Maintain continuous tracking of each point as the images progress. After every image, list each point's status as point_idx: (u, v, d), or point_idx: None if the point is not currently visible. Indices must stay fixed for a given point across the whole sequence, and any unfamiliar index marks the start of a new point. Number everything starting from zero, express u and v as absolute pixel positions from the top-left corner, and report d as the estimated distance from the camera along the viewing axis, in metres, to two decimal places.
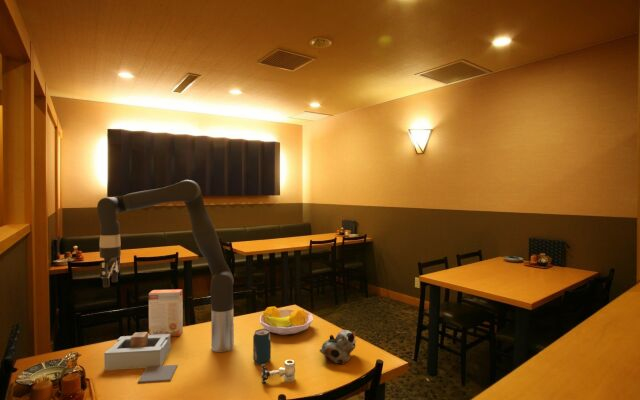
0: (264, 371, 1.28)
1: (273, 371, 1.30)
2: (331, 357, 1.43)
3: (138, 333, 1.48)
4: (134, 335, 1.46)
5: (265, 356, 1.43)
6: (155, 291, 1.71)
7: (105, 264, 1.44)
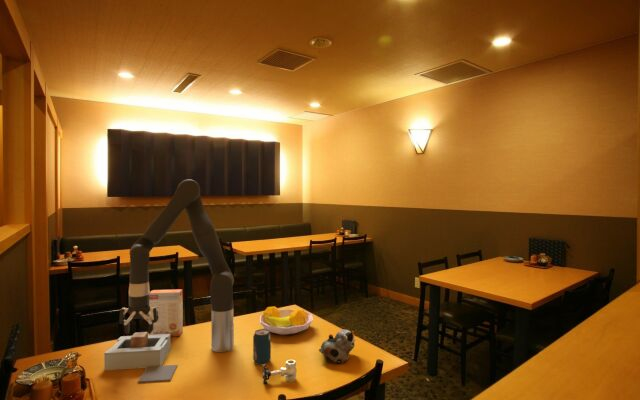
0: (265, 371, 1.28)
1: (274, 371, 1.30)
2: (331, 356, 1.43)
3: (138, 333, 1.48)
4: (134, 335, 1.46)
5: (265, 356, 1.43)
6: (155, 291, 1.71)
7: (157, 308, 1.49)
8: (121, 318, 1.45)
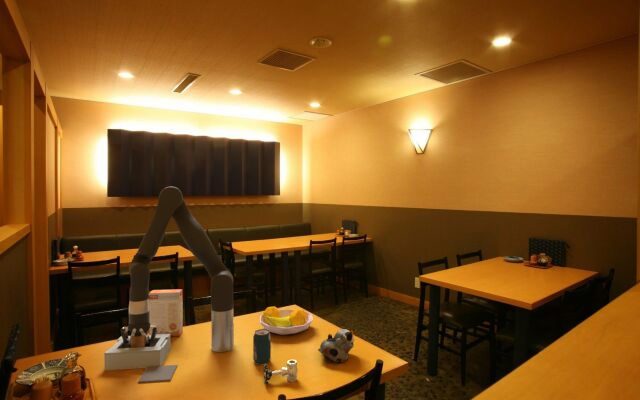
0: (267, 371, 1.28)
1: (275, 371, 1.31)
2: (330, 356, 1.43)
3: None
4: None
5: (265, 356, 1.43)
6: (155, 291, 1.72)
7: (157, 327, 1.49)
8: (124, 337, 1.45)
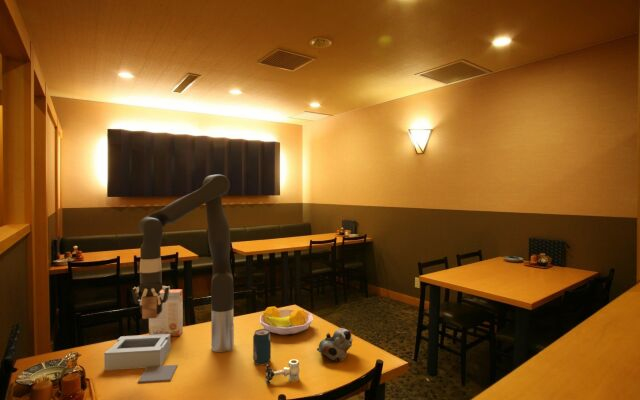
0: (269, 371, 1.28)
1: (277, 371, 1.31)
2: (329, 355, 1.44)
3: None
4: None
5: (265, 356, 1.43)
6: None
7: None
8: (135, 298, 1.37)
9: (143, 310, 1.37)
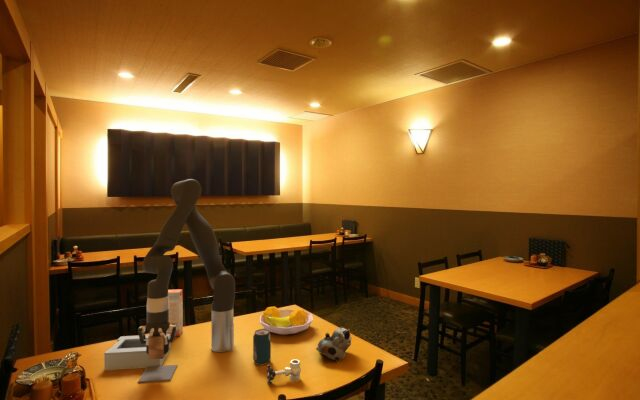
0: (270, 371, 1.28)
1: (279, 371, 1.31)
2: (328, 355, 1.45)
3: None
4: None
5: (265, 356, 1.43)
6: None
7: None
8: (141, 338, 1.33)
9: (149, 351, 1.33)
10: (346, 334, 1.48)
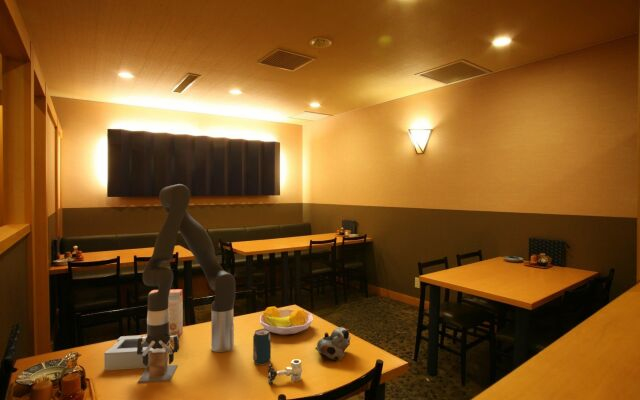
0: (272, 371, 1.28)
1: (280, 371, 1.31)
2: (328, 354, 1.45)
3: (157, 350, 1.36)
4: (153, 352, 1.34)
5: (265, 356, 1.43)
6: (155, 291, 1.71)
7: None
8: (139, 348, 1.33)
9: (150, 368, 1.33)
10: (345, 334, 1.49)
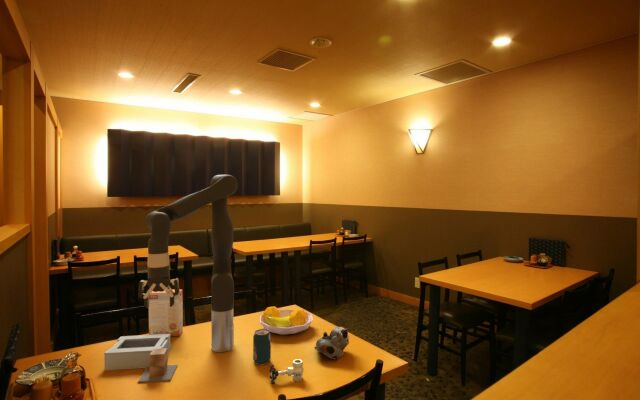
0: (273, 371, 1.28)
1: (282, 371, 1.31)
2: (327, 353, 1.46)
3: (157, 350, 1.36)
4: (153, 352, 1.34)
5: (265, 356, 1.43)
6: None
7: (178, 280, 1.40)
8: (140, 291, 1.36)
9: (150, 368, 1.33)
10: (344, 333, 1.50)
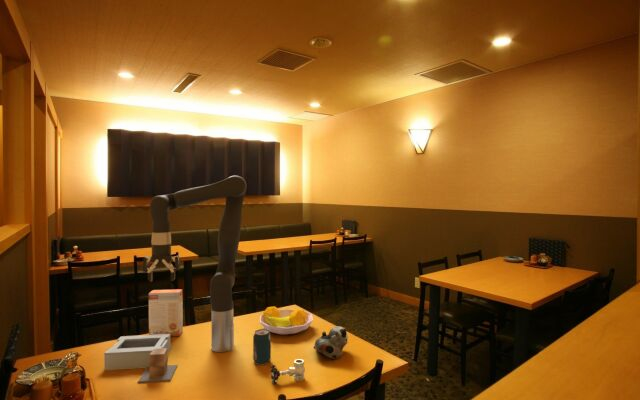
0: (275, 371, 1.28)
1: (283, 371, 1.31)
2: (326, 353, 1.46)
3: (157, 350, 1.36)
4: (153, 352, 1.34)
5: (265, 356, 1.43)
6: (155, 291, 1.71)
7: (178, 257, 1.55)
8: (144, 266, 1.52)
9: (150, 368, 1.33)
10: (343, 332, 1.50)
